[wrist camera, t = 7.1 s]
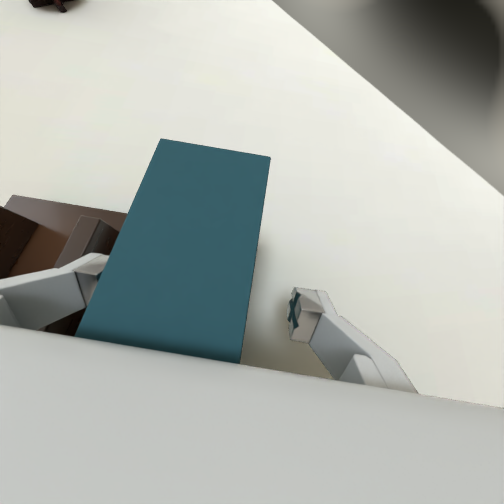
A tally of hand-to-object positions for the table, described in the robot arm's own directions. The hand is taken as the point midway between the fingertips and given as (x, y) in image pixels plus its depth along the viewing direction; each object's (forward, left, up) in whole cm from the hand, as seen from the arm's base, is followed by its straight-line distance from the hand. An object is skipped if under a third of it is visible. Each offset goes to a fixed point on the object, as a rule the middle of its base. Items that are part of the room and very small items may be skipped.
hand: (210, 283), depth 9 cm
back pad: (0, 0, -5) cm, 6 cm away
